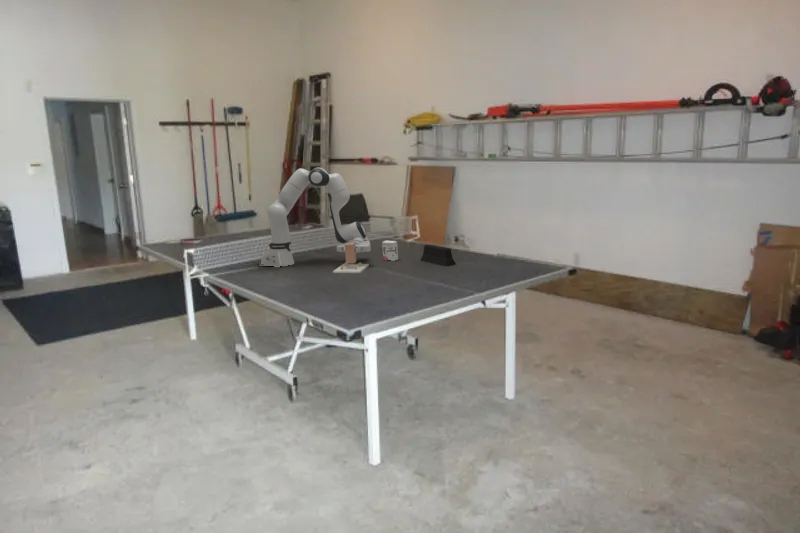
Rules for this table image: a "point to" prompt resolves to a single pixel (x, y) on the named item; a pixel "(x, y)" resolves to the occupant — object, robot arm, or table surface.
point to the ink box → (390, 250)
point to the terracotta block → (350, 253)
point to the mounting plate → (351, 268)
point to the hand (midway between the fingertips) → (350, 250)
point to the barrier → (437, 255)
